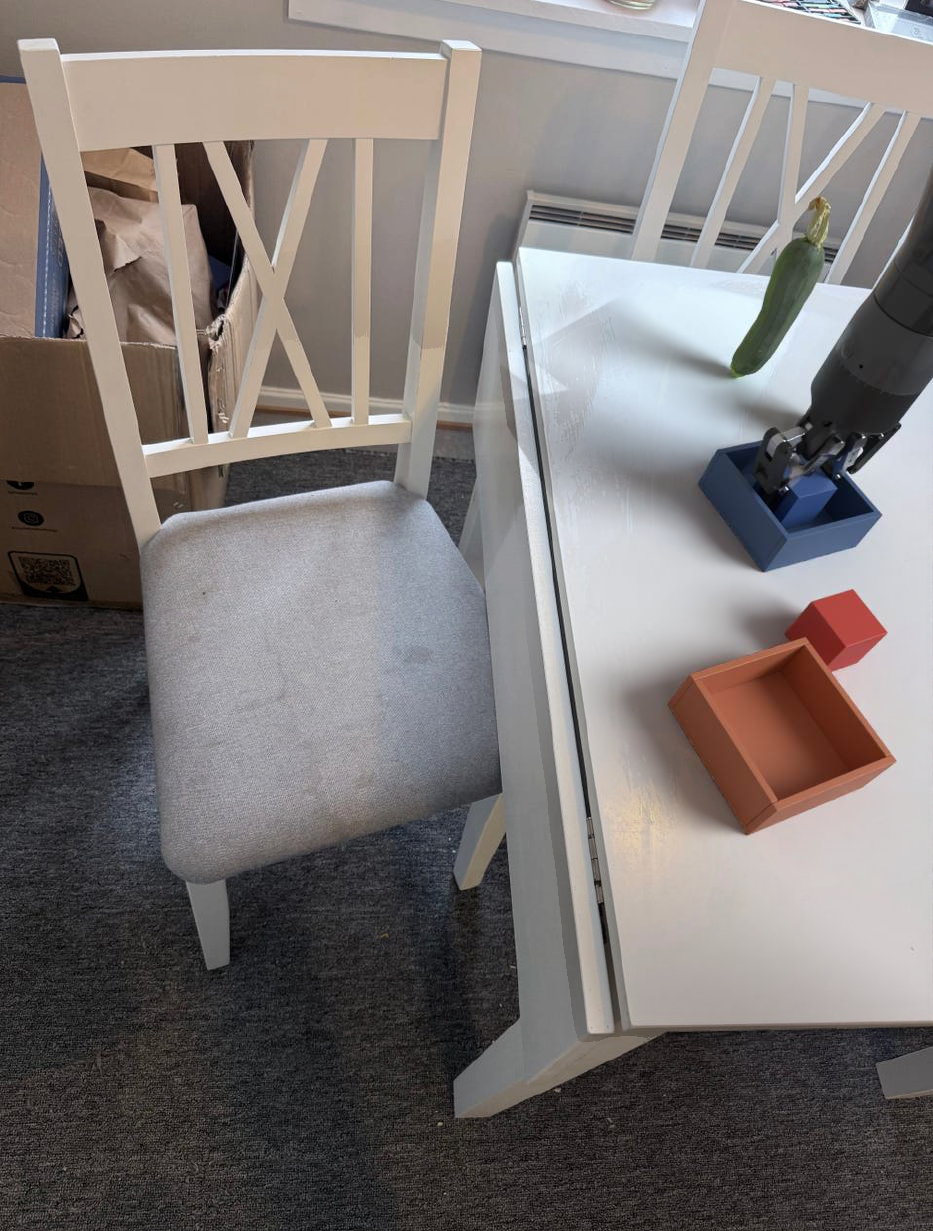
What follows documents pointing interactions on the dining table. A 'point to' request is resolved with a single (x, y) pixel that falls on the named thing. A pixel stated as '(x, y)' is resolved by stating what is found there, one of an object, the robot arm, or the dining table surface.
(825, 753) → the terracotta bin
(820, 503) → the blue block
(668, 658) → the dining table surface
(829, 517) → the blue bin
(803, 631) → the red block
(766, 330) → the vegetable
